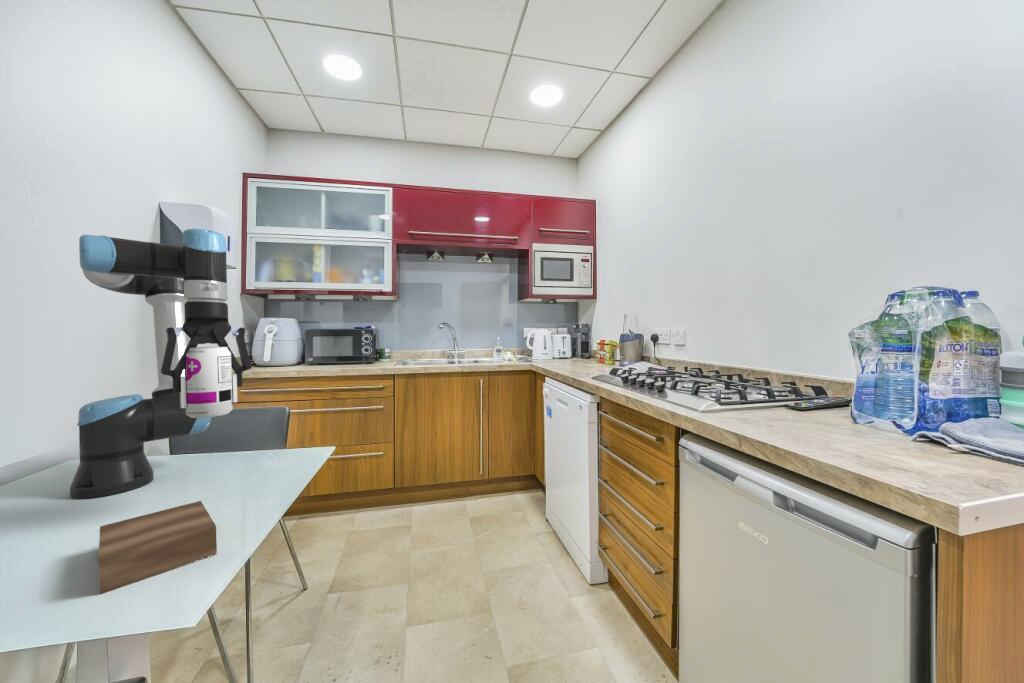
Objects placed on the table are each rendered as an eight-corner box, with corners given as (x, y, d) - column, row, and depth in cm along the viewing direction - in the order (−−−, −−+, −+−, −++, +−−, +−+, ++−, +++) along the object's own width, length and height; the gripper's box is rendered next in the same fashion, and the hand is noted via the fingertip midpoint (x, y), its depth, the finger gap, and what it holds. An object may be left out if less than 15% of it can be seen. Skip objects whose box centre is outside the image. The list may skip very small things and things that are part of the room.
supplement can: (195, 420, 80) (192, 348, 79) (179, 416, 84) (177, 347, 84) (239, 413, 86) (237, 346, 86) (223, 409, 91) (221, 346, 91)
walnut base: (101, 554, 68) (100, 526, 68) (201, 525, 78) (200, 500, 78) (99, 594, 57) (98, 561, 57) (216, 554, 67) (216, 525, 67)
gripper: (141, 297, 75) (145, 414, 75) (266, 302, 90) (269, 399, 90) (139, 300, 80) (143, 409, 80) (257, 305, 95) (260, 396, 95)
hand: (209, 404), depth 85 cm, fingers closed on supplement can, 8 cm apart
